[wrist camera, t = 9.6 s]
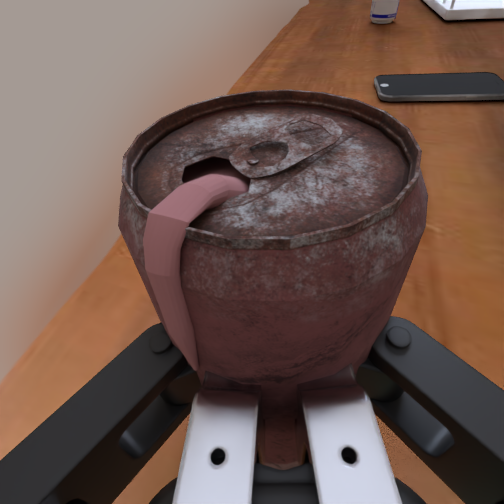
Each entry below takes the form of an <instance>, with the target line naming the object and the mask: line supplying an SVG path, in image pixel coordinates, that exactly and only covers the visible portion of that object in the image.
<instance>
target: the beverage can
mask: <svg viewBox="0 0 504 504" xmlns="http://www.w3.org/2000/svg"><path fill="white" fill-rule="evenodd" d="M398 5H399V0H372V7H371V13H370V19H371V20H372V22H373V23H378V24H386V23H391V22H392V20H393V19H395V18H396V15H397V10H398Z"/></svg>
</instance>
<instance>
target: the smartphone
mask: <svg viewBox="0 0 504 504" xmlns="http://www.w3.org/2000/svg"><path fill="white" fill-rule="evenodd" d="M374 84H375V87H376V90H377V93H378V96H379V98H380V99H381V100H384V101H450V100H504V81H503V80H502V79H501V78H500V77H498V76H497V75H496V74H494V73H489V72H476V73H438V74H400V75H379V76H377V77H376V78H375V79H374Z"/></svg>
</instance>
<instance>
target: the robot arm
mask: <svg viewBox="0 0 504 504" xmlns="http://www.w3.org/2000/svg"><path fill="white" fill-rule="evenodd" d="M296 395H297V405H298V413H297V419H295V422H294V428H295V439H296V450H297V458H298V465H299V466H296V467H293V468H290V469H287V470H279V469H275V468H272V467H269V466H265V431H266V425H265V419H263V414H262V387H261V385H254V384H241V383H238V382H236V381H233V380H230V379H228V378H225V377H222V376H220V375H217V374H214V373H212V372H209V371H205V376H204V381H203V384H202V385H201V382H200V380H199V377H198V374H197V372H196V371H195V370H193V368H192V367H191V366H190V365H189V364H188V362H187V360H186V358H185V356H184V355H183V353H182V352H181V351H180V350H179V349H178V348H177V347H176V346H175V345H173V344H172V341H171V339H170V337H169V335H168V333H167V332H166V330H165V328H164V326H163V324H162V323H159V324H156V325H153V326H152V327H150V328H148V329H147V330H146V331H145V332H143V333H142V334H141V335H140V336H139V337H138V338H137V339H136V340H134V341H133V342H132V343H131V344H130V345H129V346H128V347H127V348H126V349H124V350H123V351H122V352H121V353H120V354H119V355H118V356H117V357H115V358H114V359H113V360H112V361H111V362H110V363H109V364H108V365H107V366H105V367H104V368H103V369H102V370H101V371H100V372H99V373H98V374H97V375H95V376H94V377H93V378H92V379H91V380H90V381H89V382H88V383H86V384H85V385H84V386H83V387H82V388H81V389H80V390H79V391H78V392H76V393H75V394H74V395H73V396H72V397H71V398H70V399H69V400H67V401H66V402H65V403H64V404H63V405H62V406H61V407H60V408H59V409H57V410H56V411H55V412H54V413H53V414H52V415H51V416H50V417H48V418H47V419H46V420H45V421H44V422H43V423H42V424H41V425H40V426H38V427H37V428H36V429H35V430H34V431H33V432H32V433H31V434H29V435H28V436H27V437H26V438H25V439H24V440H23V441H22V442H21V443H19V444H18V445H17V446H16V447H15V448H14V449H13V450H12V451H10V452H9V453H8V454H7V455H6V456H5V457H4V458H3V459H2V460H0V504H112V503H113V501H114V500H115V499H116V498H117V497H118V496H119V494H120V493H121V492H122V491H123V490H124V489H125V488H126V486H127V485H128V484H129V483H130V482H131V481H132V479H133V478H134V477H135V476H136V475H137V474H138V472H139V471H140V470H141V469H142V468H143V467H144V465H145V464H146V463H147V462H148V461H149V460H150V459H151V457H152V456H153V455H154V454H155V453H156V452H157V450H158V449H159V448H160V447H161V446H162V445H163V443H164V442H165V441H166V440H167V439H168V438H169V437H170V435H171V434H172V433H173V432H174V431H175V430H176V428H177V427H178V426H179V425H180V424H181V423H182V421H183V420H184V419H185V418H186V417H187V416H188V414H189V413H190V412H191V414H190V419H189V424H188V429H187V434H186V438H185V443H184V448H183V453H182V458H181V463H180V468H179V473H178V477H177V478H175V479H174V480H172V481H171V482H170V483H168V484H167V485H166V486H165V487H164V488H162V489H161V490H160V491H159V493H158V494H157V495H156V496H155V497H154V498H153V499H152V500H151V501H150V503H149V504H426V503H425V502H424V501H423V499H422V498H421V497H420V496H419V495H417V494H416V493H415V492H414V491H413V490H412V489H411V488H410V487H408V486H407V485H406V484H404V483H403V482H402V481H400V480H399V479H397V478H395V477H394V475H393V472H392V469H391V466H390V462H389V459H388V456H387V453H386V450H385V446H384V443H383V440H382V437H381V433H380V430H379V427H378V424H377V420H376V417H375V414H376V415H377V416H378V417H379V418H380V419H381V420H382V421H383V422H384V423H385V424H386V425H387V426H388V427H389V428H390V429H391V430H392V431H393V432H394V433H395V434H396V435H397V436H398V437H399V438H400V439H401V440H402V441H403V442H404V443H405V444H406V445H407V446H408V447H409V448H410V449H411V450H412V451H413V452H414V453H415V454H416V455H417V456H418V457H419V458H420V459H421V460H422V461H423V462H424V463H425V464H426V465H427V466H428V467H429V468H430V469H431V470H432V471H433V472H434V473H435V474H436V475H437V476H438V477H439V478H440V479H441V480H442V481H443V482H444V483H445V484H446V485H447V486H448V487H449V488H450V489H451V490H452V491H453V492H454V493H455V494H456V495H457V496H458V497H459V498H460V499H461V500H462V501H463V502H464V503H465V504H504V390H502V389H501V388H500V387H498V386H497V385H496V384H494V383H493V382H492V381H490V380H489V379H488V378H486V377H485V376H483V375H482V374H481V373H479V372H478V371H477V370H475V369H474V368H473V367H471V366H470V365H469V364H467V363H466V362H465V361H463V360H462V359H460V358H459V357H458V356H456V355H455V354H454V353H452V352H451V351H450V350H448V349H447V348H446V347H444V346H443V345H442V344H440V343H439V342H437V341H436V340H435V339H433V338H432V337H431V336H429V335H428V334H427V333H425V332H424V331H423V330H421V329H420V328H419V327H417V326H416V325H414V324H413V323H411V322H410V321H408V320H406V319H403V318H400V317H393V316H390V318H389V321H388V322H387V324H386V325H385V327H384V328H383V330H382V331H381V333H380V334H379V336H378V337H377V339H376V340H375V342H374V344H373V345H372V347H371V350H370V353H369V356H368V358H367V359H366V361H365V362H364V363H362V364H361V365H359V367H358V370H357V373H356V376H355V374H354V370H353V367H352V363H350V364H349V365H347V366H346V367H344V368H343V369H341V370H340V371H338V372H337V373H336V374H333V375H330V376H326V377H322V378H319V379H315V380H311V381H308V382H304V383H300V384H297V391H296ZM374 413H375V414H374Z"/></svg>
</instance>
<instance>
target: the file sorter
mask: <svg viewBox="0 0 504 504" xmlns="http://www.w3.org/2000/svg"><path fill="white" fill-rule="evenodd" d="M423 1H424V2H425V3H426V4H428V5H429V6H430V7H431V8H432V9H433V10H434V11H436V12H437V13H438V14H439V15H440V16H441V17H442V18H443V19H445V20H465V19H490V18H504V0H423Z"/></svg>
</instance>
